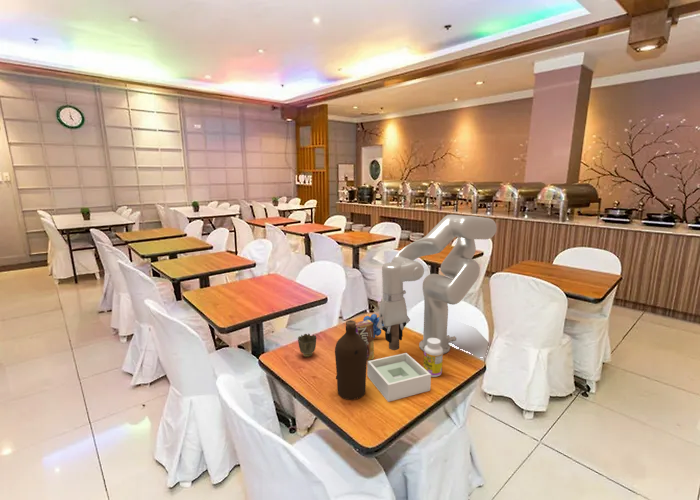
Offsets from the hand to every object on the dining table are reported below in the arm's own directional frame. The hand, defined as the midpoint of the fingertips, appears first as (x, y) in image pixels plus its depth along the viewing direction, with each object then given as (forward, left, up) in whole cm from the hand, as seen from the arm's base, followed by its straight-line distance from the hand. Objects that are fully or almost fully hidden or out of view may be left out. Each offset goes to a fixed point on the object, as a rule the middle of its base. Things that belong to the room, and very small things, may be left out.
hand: (394, 339), depth 138 cm
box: (+6, +14, -9) cm, 18 cm away
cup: (+30, -17, -9) cm, 36 cm away
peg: (0, 0, -3) cm, 3 cm away
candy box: (+11, -6, -9) cm, 15 cm away
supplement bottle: (-9, +13, -9) cm, 18 cm away
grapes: (0, -21, -9) cm, 23 cm away
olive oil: (+23, +12, -9) cm, 27 cm away
